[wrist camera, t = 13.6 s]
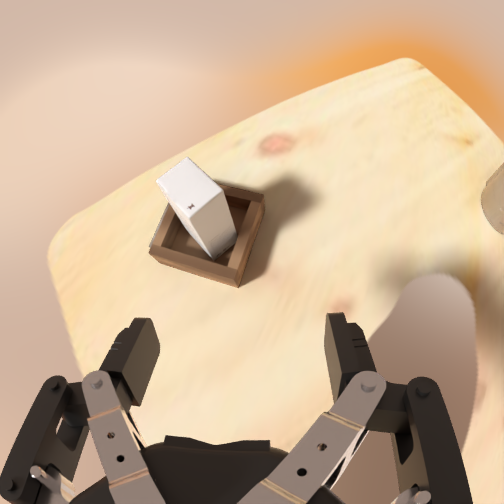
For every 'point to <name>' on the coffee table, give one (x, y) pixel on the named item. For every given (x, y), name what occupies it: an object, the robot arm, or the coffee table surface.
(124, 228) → the coffee table surface
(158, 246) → the box
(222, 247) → the skincare box
